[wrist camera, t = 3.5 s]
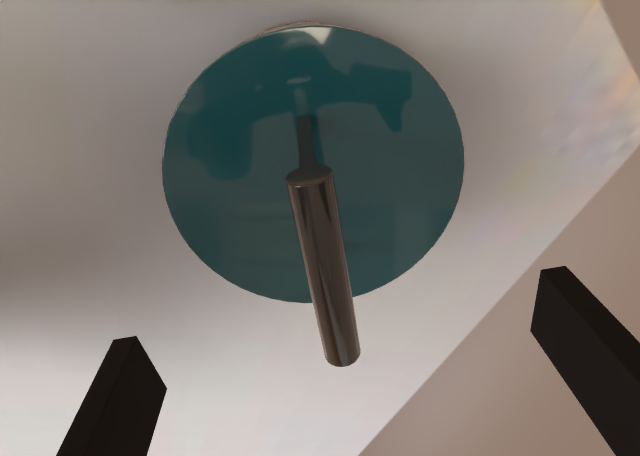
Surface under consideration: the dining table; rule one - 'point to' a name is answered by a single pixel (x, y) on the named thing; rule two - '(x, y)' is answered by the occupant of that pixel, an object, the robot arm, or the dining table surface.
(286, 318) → the dining table surface
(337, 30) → the lid
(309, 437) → the dining table surface
